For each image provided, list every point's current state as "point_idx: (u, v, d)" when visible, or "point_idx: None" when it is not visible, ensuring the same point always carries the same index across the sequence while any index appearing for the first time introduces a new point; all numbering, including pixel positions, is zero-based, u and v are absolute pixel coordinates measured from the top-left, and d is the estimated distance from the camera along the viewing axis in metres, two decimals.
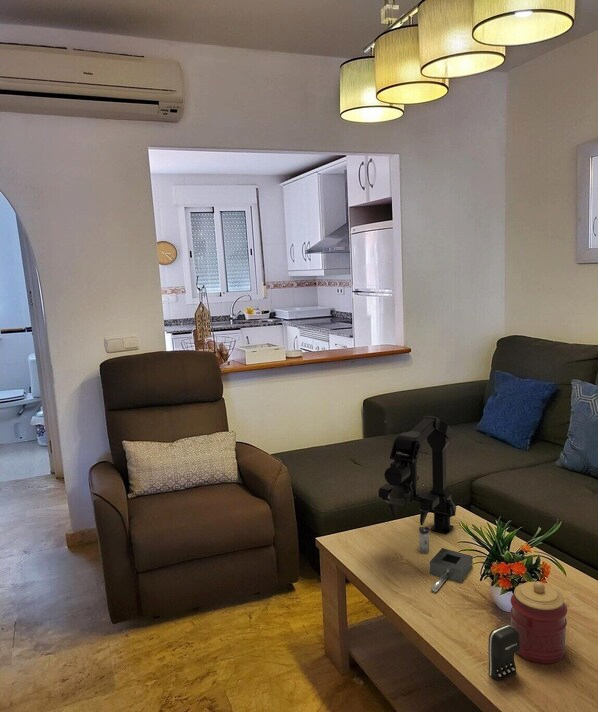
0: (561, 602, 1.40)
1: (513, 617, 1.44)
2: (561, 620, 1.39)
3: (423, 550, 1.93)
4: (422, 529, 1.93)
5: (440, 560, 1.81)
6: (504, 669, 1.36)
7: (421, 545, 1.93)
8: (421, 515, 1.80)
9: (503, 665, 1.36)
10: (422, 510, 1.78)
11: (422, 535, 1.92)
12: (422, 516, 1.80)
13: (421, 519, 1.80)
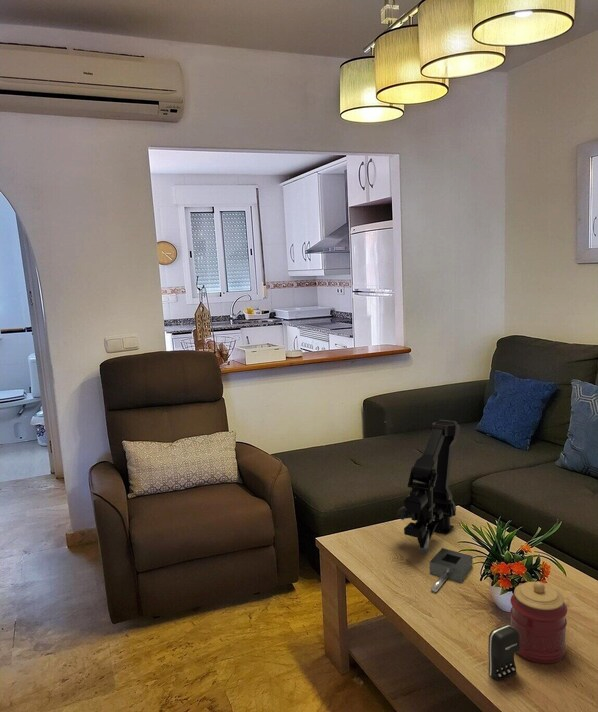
0: (561, 602, 1.40)
1: (513, 617, 1.44)
2: (561, 620, 1.39)
3: (423, 550, 1.93)
4: None
5: (440, 560, 1.81)
6: (504, 669, 1.36)
7: None
8: None
9: (503, 665, 1.36)
10: None
11: None
12: None
13: None
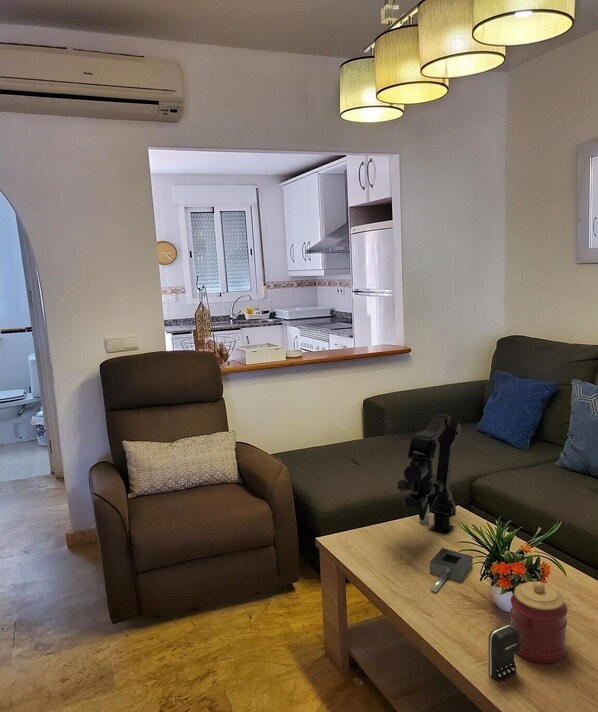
0: (561, 602, 1.40)
1: (513, 617, 1.44)
2: (561, 620, 1.39)
3: (423, 522, 1.91)
4: None
5: (440, 560, 1.81)
6: (504, 669, 1.36)
7: None
8: None
9: (503, 665, 1.36)
10: None
11: None
12: None
13: None
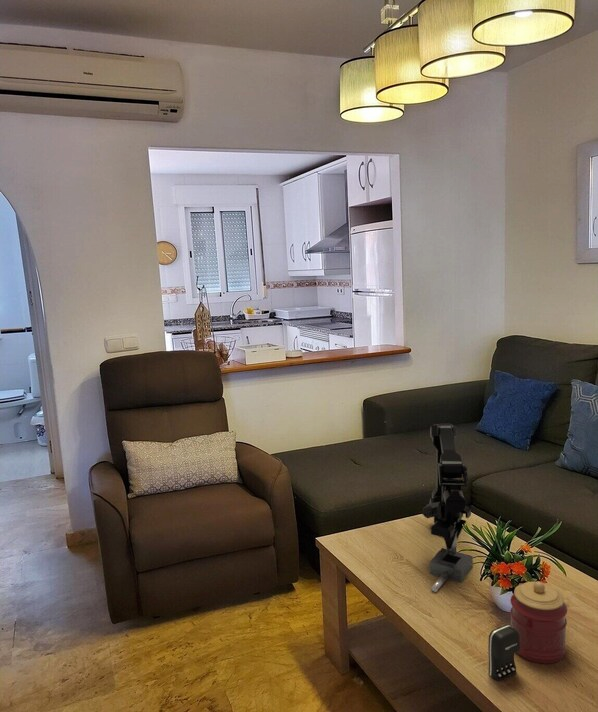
0: (561, 602, 1.40)
1: (513, 617, 1.44)
2: (561, 620, 1.39)
3: (450, 551, 1.79)
4: None
5: (440, 560, 1.81)
6: (504, 669, 1.36)
7: None
8: None
9: (503, 665, 1.36)
10: None
11: None
12: None
13: None
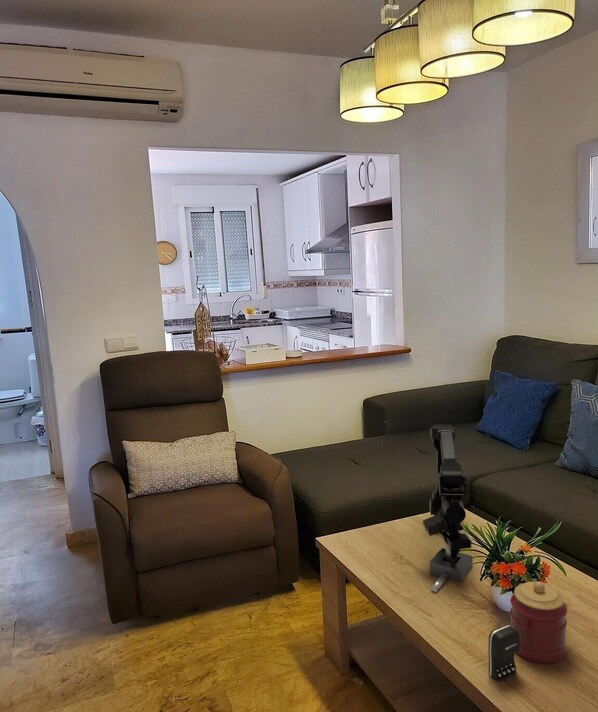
0: (561, 602, 1.40)
1: (513, 617, 1.44)
2: (561, 620, 1.39)
3: (453, 561, 1.80)
4: None
5: (440, 560, 1.81)
6: (504, 669, 1.36)
7: None
8: None
9: (503, 665, 1.36)
10: None
11: None
12: (450, 549, 1.78)
13: (450, 552, 1.79)
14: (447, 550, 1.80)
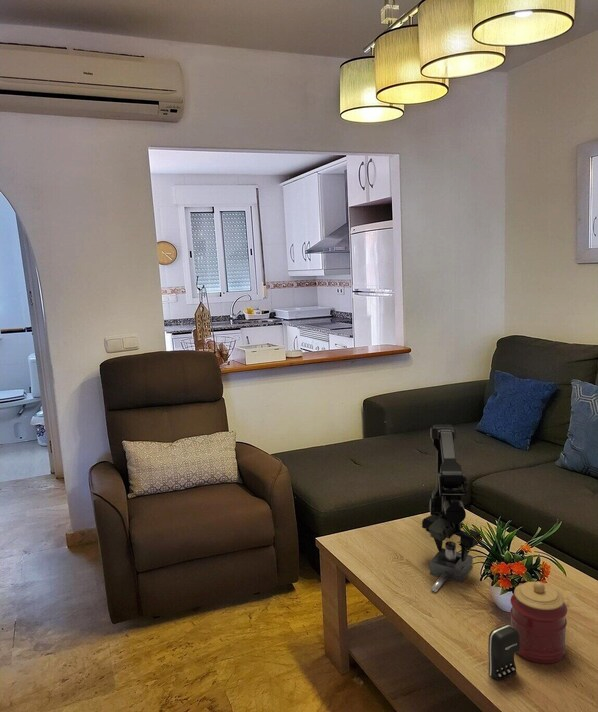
0: (561, 602, 1.40)
1: (513, 617, 1.44)
2: (561, 620, 1.39)
3: None
4: (452, 545, 1.80)
5: (440, 560, 1.81)
6: (504, 669, 1.36)
7: (454, 561, 1.80)
8: (462, 551, 1.76)
9: (503, 665, 1.36)
10: (462, 546, 1.74)
11: (455, 550, 1.80)
12: (463, 552, 1.76)
13: (462, 555, 1.77)
14: (449, 557, 1.80)
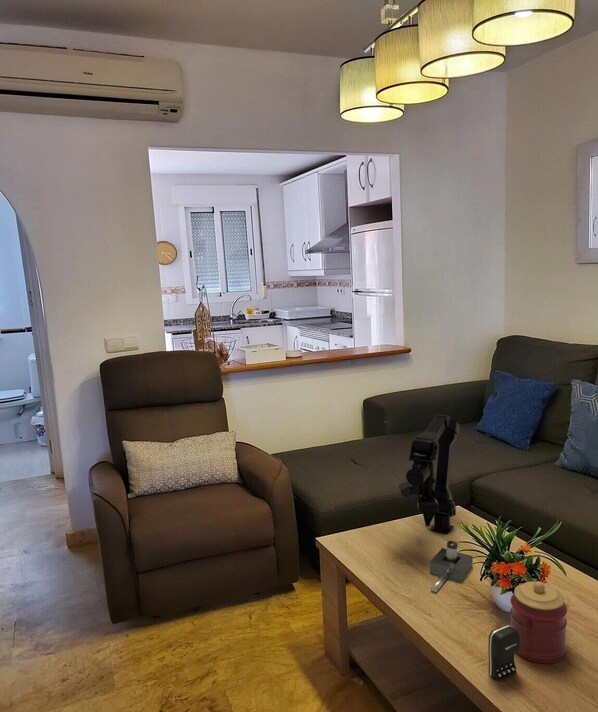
0: (561, 602, 1.40)
1: (513, 617, 1.44)
2: (561, 620, 1.39)
3: None
4: (453, 544, 1.80)
5: (440, 560, 1.81)
6: (504, 669, 1.36)
7: (455, 561, 1.80)
8: (423, 515, 1.86)
9: (503, 665, 1.36)
10: None
11: (456, 550, 1.80)
12: None
13: (424, 519, 1.87)
14: (451, 556, 1.80)
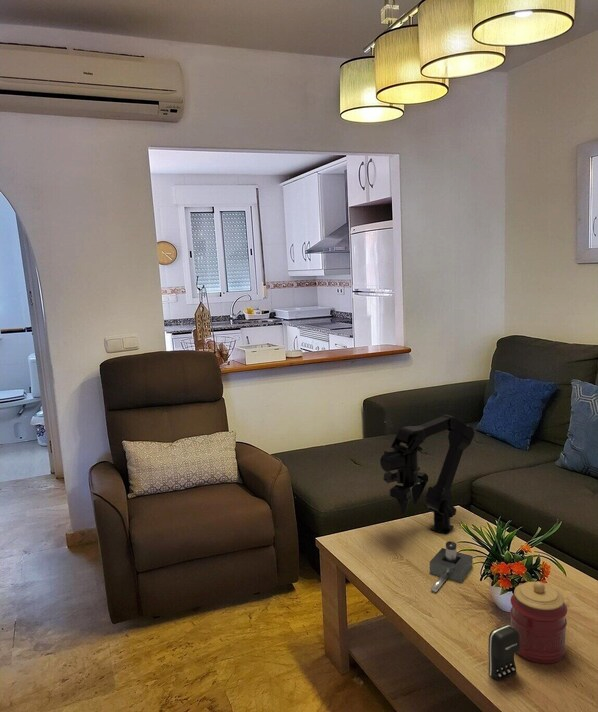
0: (561, 602, 1.40)
1: (513, 617, 1.44)
2: (561, 620, 1.39)
3: None
4: (452, 545, 1.79)
5: (440, 560, 1.81)
6: (504, 669, 1.36)
7: (454, 561, 1.80)
8: None
9: (503, 665, 1.36)
10: None
11: None
12: None
13: None
14: (450, 557, 1.80)
